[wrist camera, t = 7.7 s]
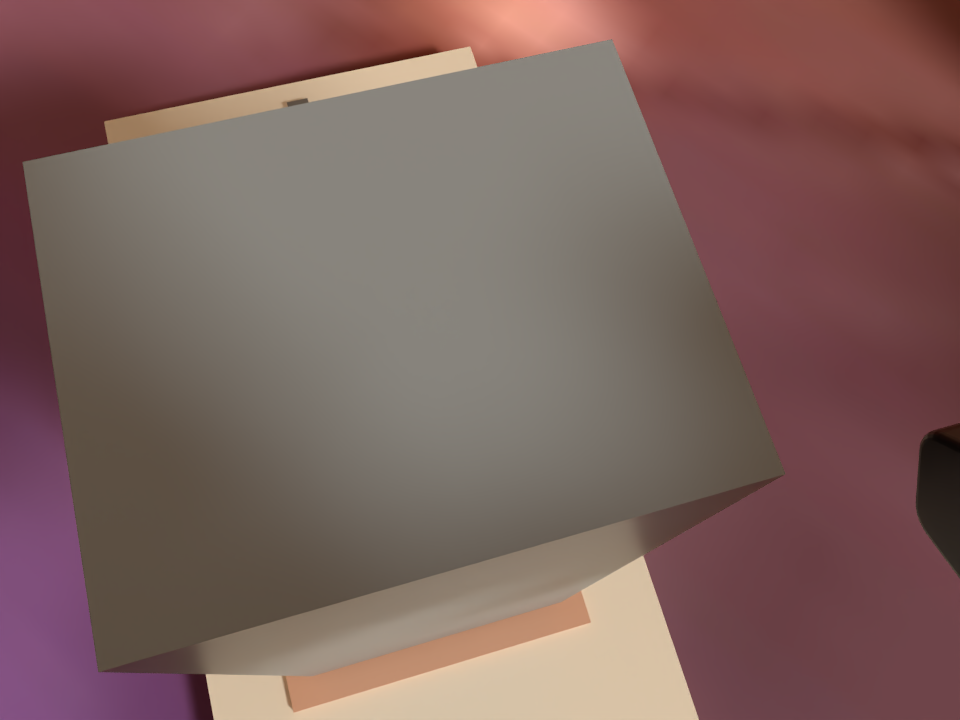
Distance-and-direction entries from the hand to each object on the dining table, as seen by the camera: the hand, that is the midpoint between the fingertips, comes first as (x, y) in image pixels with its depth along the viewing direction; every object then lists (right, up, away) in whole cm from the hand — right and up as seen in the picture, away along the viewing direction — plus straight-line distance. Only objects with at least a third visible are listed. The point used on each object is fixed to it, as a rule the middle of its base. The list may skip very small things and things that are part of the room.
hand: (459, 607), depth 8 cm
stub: (-1, -1, +10) cm, 11 cm away
